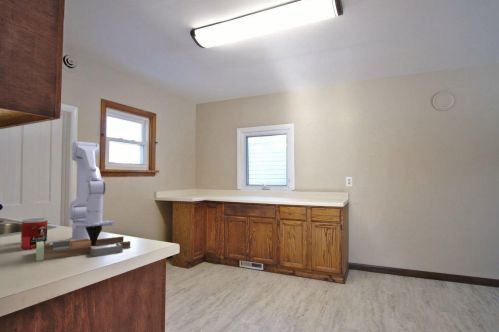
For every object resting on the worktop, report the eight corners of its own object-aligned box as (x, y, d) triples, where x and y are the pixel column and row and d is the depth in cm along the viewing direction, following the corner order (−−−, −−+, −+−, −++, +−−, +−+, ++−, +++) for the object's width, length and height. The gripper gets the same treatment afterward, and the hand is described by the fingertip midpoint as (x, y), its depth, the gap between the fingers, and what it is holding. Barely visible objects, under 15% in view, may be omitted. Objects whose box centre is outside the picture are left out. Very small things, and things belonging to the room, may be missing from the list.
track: (42, 252, 103) (43, 245, 103) (122, 242, 120) (122, 236, 120) (43, 259, 94) (43, 252, 94) (130, 247, 111) (130, 241, 111)
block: (69, 250, 105) (70, 240, 105) (87, 248, 109) (87, 238, 109) (72, 254, 101) (72, 243, 101) (90, 251, 105) (91, 241, 105)
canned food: (31, 250, 106) (33, 221, 106) (15, 249, 107) (16, 220, 108) (50, 245, 113) (51, 218, 114) (34, 244, 115) (35, 217, 115)
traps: (49, 248, 108) (49, 242, 109) (110, 241, 122) (110, 235, 122) (51, 262, 91) (51, 254, 91) (122, 252, 104) (122, 245, 105)
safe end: (36, 252, 102) (36, 242, 102) (42, 252, 103) (43, 241, 103) (36, 260, 93) (36, 249, 93) (43, 259, 94) (44, 248, 94)
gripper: (73, 213, 101) (72, 250, 101) (116, 210, 110) (115, 245, 109) (71, 211, 107) (70, 246, 106) (112, 209, 116) (111, 241, 115)
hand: (93, 245), depth 108 cm, fingers closed
